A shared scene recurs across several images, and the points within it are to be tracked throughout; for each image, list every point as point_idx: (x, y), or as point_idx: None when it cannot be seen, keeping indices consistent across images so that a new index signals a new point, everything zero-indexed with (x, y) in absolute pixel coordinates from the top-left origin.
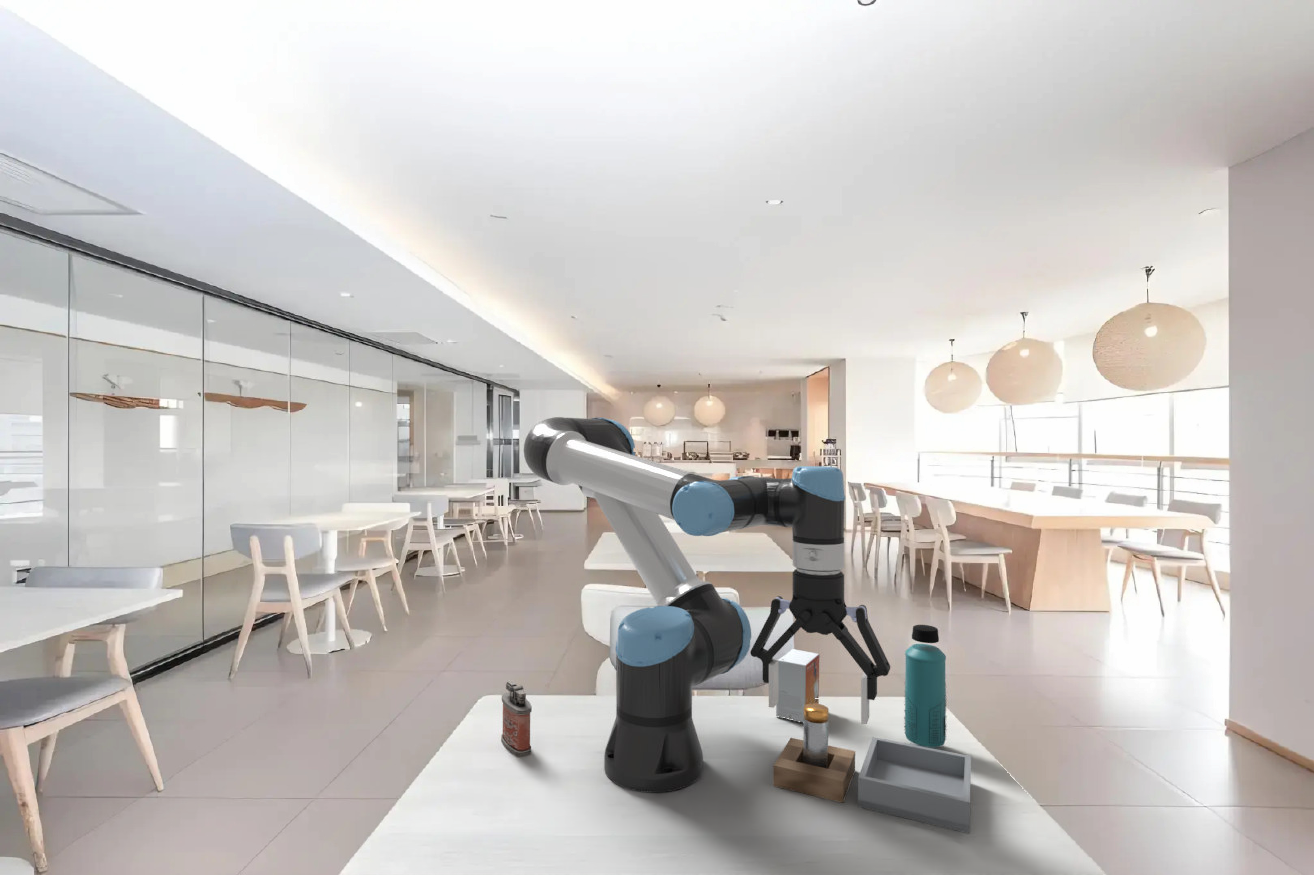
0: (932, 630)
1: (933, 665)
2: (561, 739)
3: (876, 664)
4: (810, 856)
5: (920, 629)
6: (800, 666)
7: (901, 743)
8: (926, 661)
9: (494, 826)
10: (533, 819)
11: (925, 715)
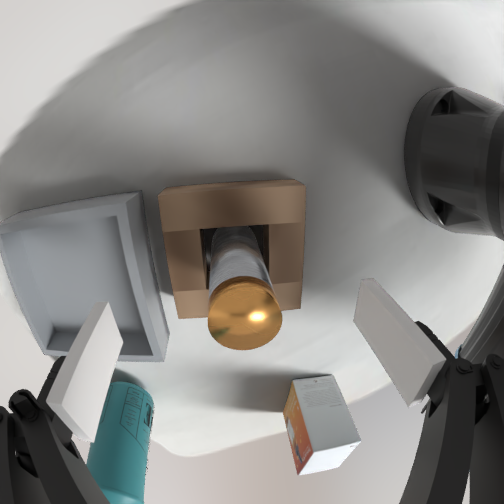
0: None
1: None
2: None
3: (5, 441)
4: (178, 20)
5: None
6: (321, 447)
7: (119, 358)
8: None
9: (488, 16)
10: (479, 26)
11: (110, 415)
